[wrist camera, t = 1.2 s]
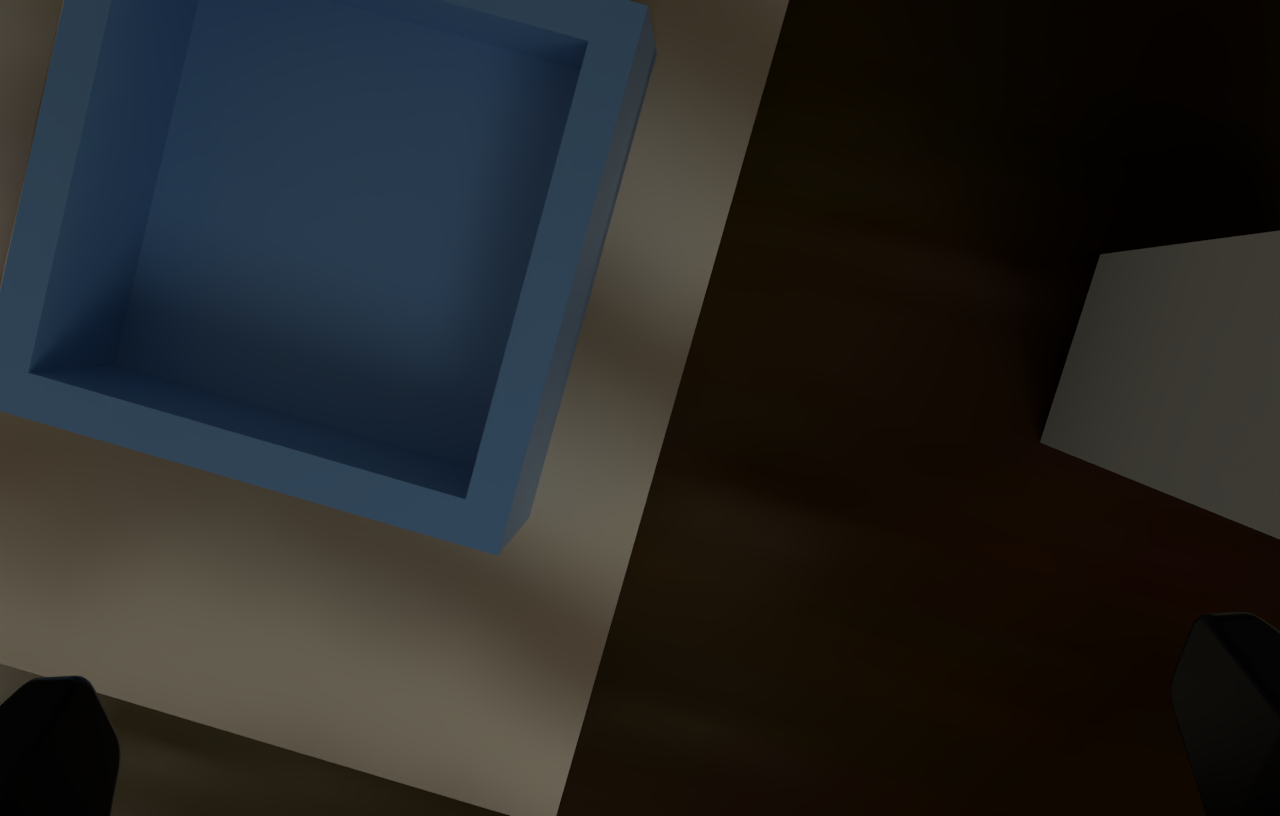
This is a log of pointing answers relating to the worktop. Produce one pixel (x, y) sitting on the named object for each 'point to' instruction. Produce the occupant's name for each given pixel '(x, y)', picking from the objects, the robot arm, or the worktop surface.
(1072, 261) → the worktop surface
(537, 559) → the board
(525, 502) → the box
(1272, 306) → the connector column
